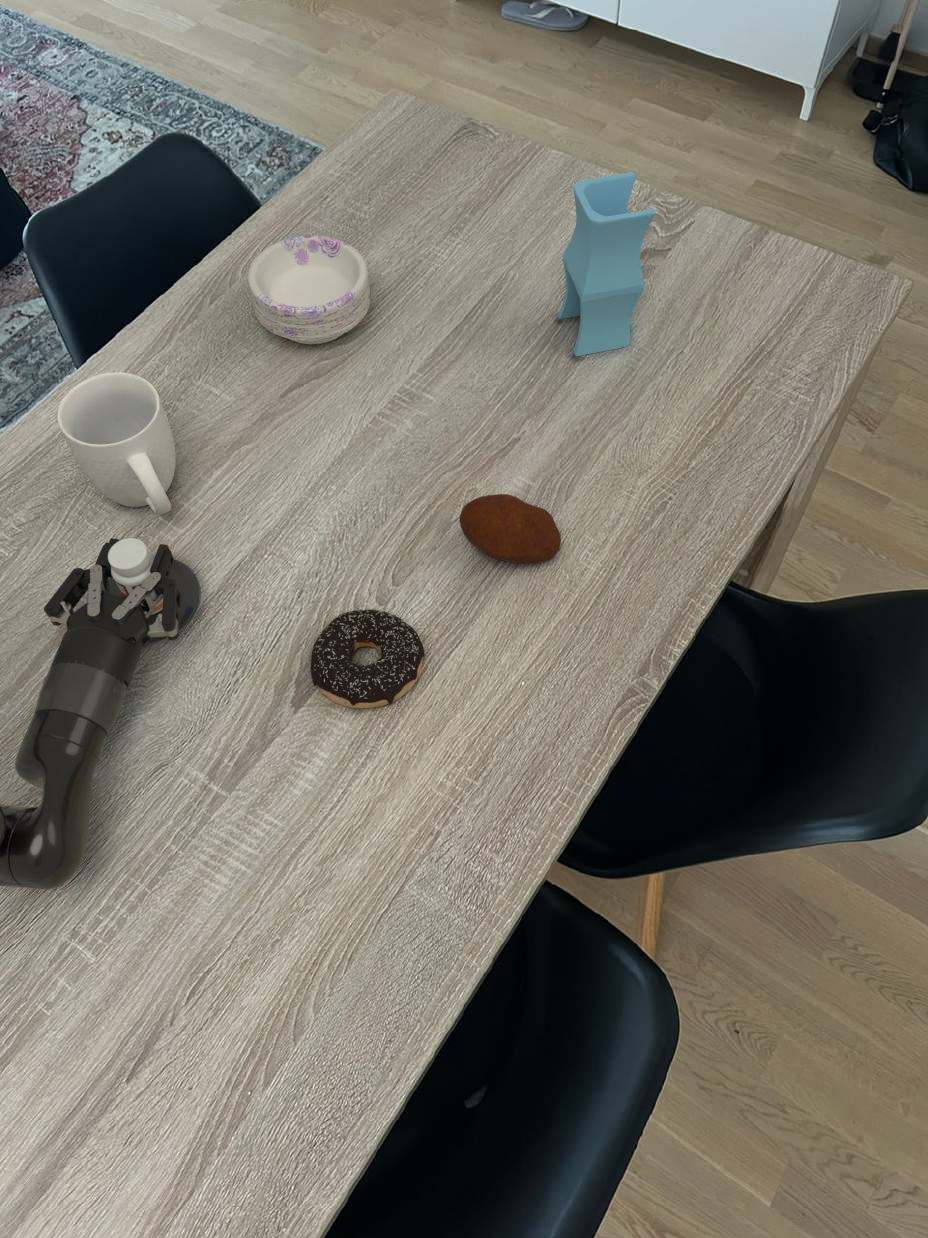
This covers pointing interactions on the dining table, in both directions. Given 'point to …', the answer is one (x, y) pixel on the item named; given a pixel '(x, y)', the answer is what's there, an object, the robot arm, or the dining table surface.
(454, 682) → the dining table surface
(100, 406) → the mug
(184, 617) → the coaster
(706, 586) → the dining table surface
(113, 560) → the pill bottle
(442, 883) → the dining table surface
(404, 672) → the donut
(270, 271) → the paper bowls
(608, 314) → the vase
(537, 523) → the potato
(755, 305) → the dining table surface
